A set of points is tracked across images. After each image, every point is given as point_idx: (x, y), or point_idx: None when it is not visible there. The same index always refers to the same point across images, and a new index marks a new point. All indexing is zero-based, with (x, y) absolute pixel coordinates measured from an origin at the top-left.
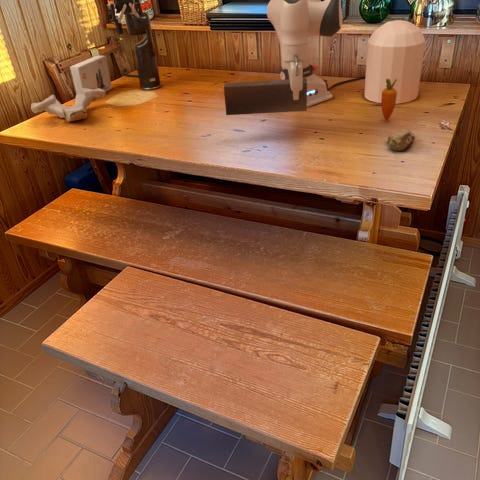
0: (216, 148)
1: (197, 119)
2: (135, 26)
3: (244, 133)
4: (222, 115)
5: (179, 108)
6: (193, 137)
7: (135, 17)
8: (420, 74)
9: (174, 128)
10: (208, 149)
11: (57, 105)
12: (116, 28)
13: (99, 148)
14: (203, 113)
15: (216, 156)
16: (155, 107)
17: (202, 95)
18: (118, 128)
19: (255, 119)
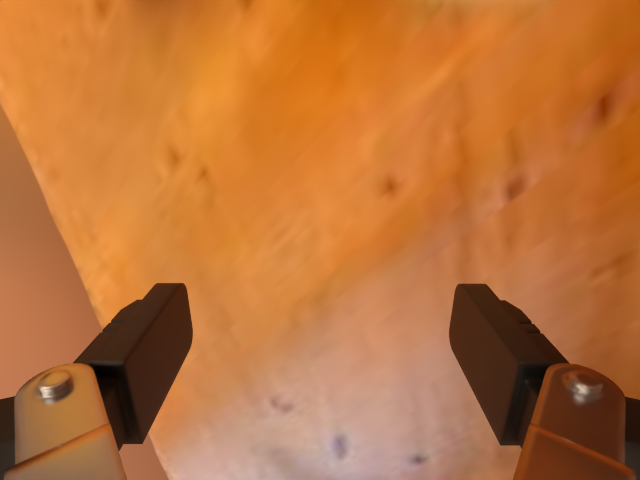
0: (236, 456)
1: (366, 322)
2: (465, 314)
3: (332, 462)
4: (419, 363)
5: (434, 205)
6: (257, 386)
7: (525, 429)
8: None
9: (280, 308)
10: (223, 447)
11: None
12: (102, 337)
13: (52, 214)
14: (416, 308)
15: (205, 475)
16: (415, 103)
17: (589, 190)
18: (187, 138)
19: (419, 442)
